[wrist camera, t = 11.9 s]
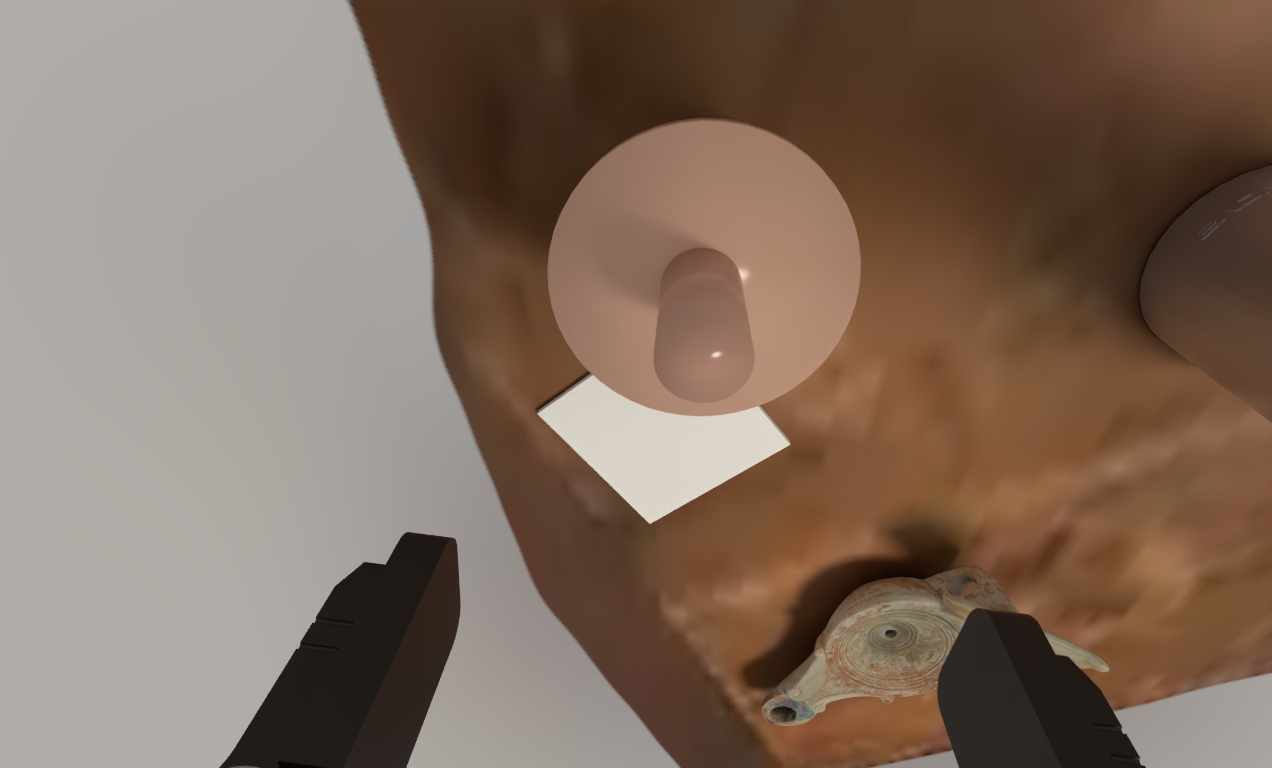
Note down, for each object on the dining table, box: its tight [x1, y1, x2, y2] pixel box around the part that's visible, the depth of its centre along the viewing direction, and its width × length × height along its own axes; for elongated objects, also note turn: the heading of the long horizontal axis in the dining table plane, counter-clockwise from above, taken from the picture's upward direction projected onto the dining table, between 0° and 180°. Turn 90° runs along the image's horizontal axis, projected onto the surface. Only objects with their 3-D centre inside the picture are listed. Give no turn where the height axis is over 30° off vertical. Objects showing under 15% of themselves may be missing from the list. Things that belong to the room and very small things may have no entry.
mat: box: [538, 374, 790, 524], centre depth 37 cm, size 10×10×1 cm
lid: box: [547, 118, 861, 416], centre depth 20 cm, size 10×10×6 cm
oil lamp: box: [762, 566, 1110, 726], centre depth 39 cm, size 9×21×10 cm, turn 142°
